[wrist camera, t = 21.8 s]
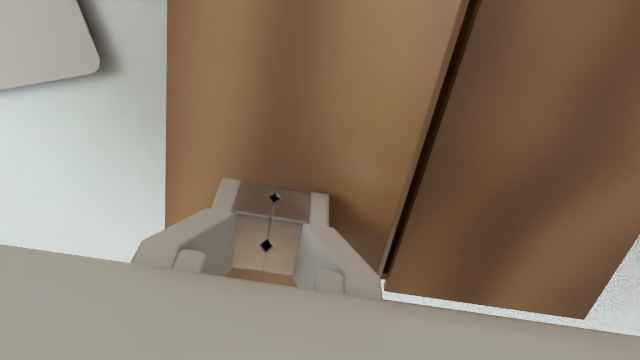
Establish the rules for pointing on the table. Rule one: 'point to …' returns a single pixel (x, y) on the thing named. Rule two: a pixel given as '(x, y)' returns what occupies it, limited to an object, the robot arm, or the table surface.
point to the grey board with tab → (44, 42)
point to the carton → (528, 160)
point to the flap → (305, 105)
